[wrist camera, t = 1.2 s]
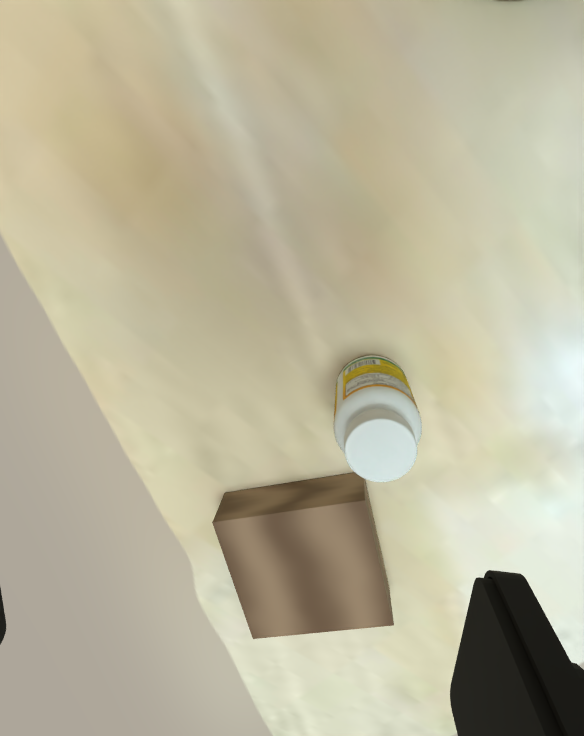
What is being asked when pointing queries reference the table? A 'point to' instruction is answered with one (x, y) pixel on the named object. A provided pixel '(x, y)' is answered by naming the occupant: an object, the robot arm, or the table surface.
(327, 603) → the walnut stand
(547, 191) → the table surface
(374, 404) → the supplement bottle
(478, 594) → the robot arm
